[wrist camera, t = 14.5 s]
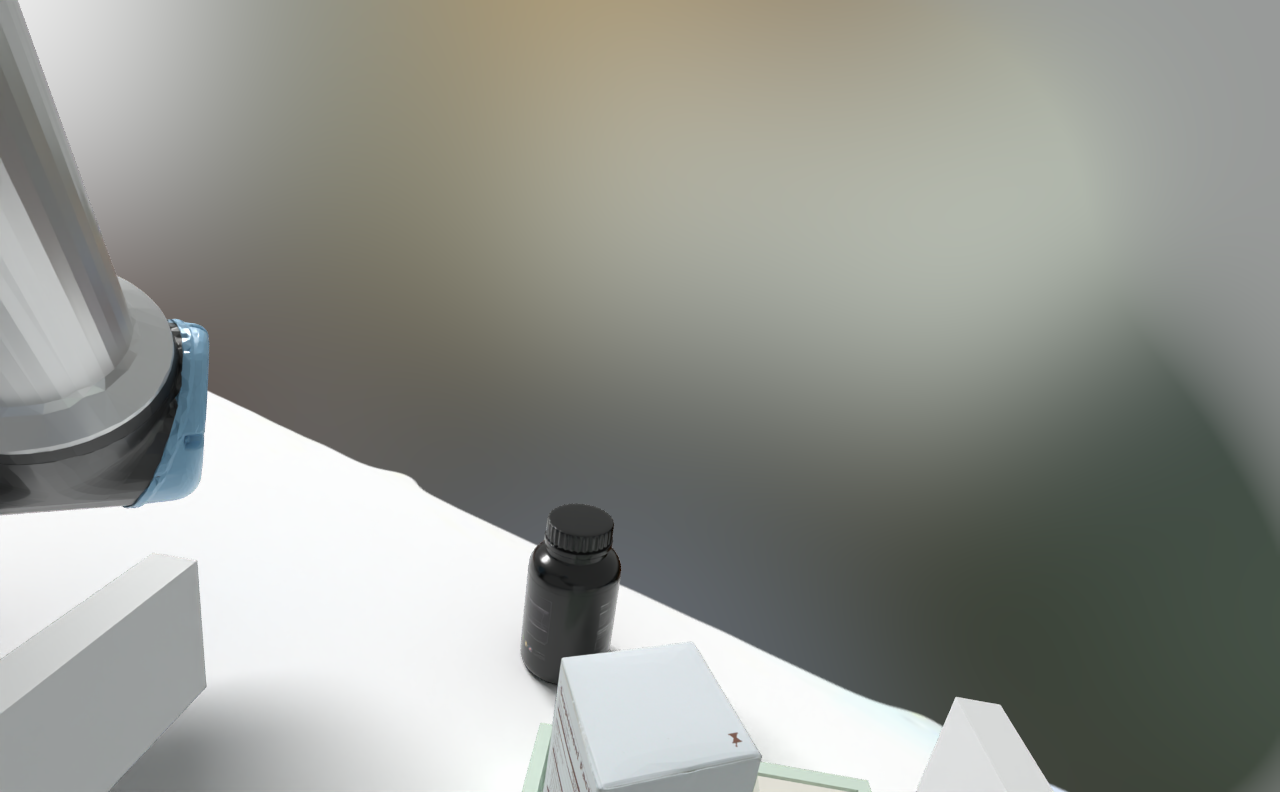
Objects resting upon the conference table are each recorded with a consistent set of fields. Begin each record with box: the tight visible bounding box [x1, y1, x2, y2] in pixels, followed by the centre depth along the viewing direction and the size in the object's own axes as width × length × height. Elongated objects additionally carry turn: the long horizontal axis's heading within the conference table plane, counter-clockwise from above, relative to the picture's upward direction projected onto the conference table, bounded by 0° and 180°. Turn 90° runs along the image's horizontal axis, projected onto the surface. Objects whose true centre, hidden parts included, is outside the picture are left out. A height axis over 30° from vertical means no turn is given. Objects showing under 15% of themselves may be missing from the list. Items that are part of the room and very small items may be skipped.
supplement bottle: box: [521, 504, 621, 684], centre depth 47 cm, size 7×7×12 cm
